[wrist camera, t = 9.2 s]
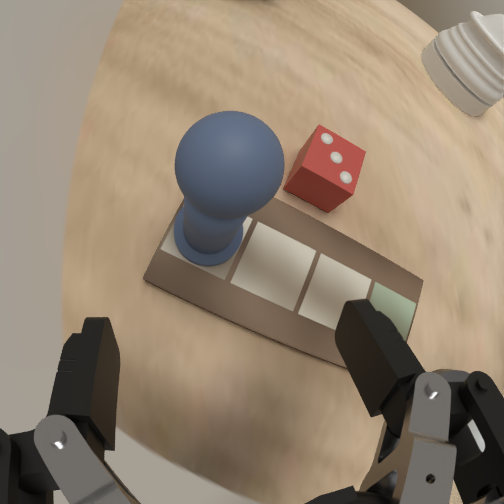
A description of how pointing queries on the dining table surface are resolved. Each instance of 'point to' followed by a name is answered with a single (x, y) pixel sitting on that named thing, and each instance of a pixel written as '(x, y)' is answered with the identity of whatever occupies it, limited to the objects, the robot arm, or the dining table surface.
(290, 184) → the red die
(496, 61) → the honey pot
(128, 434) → the dining table surface
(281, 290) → the game board
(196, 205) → the pawn
